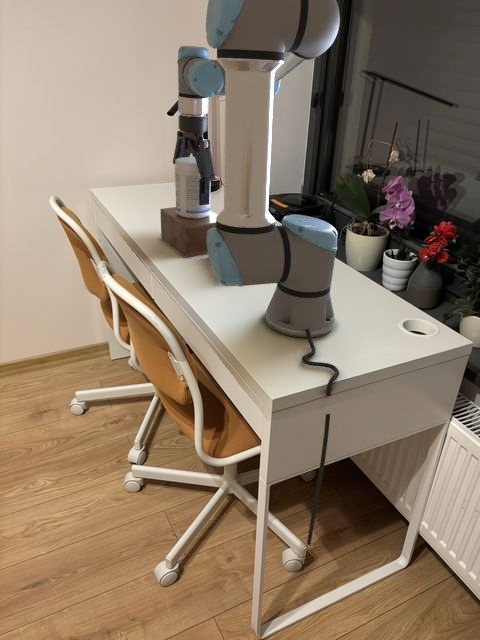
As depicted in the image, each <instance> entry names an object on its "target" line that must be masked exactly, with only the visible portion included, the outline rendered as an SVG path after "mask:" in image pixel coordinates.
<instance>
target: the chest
mask: <svg viewBox="0 0 480 640" xmlns="http://www.w3.org/2000/svg"><path fill="white" fill-rule="evenodd" d="M212 227H214V228H216V225H213V226H207V227H200V228H193V229H186V228H185V227H183V226H182V225H180V224H179V223H177V222H176V221H174V220H173V219H171V218H169V217H168V216H166V215H165V214H163V213H162V212H161V211H160V239H161V241H163V242H164V243H165V244H167V245H168V246H169V247H171V248H172V249H173V250H174V251H176V252H177V253H179V254H180V255H181V256H183V257H184V258H193V257H198V256H203V255H208V250H207V231H208V230H209V229H211V228H212Z"/></svg>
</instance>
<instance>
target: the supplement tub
mask: <svg viewBox="0 0 480 640" xmlns="http://www.w3.org/2000/svg"><path fill="white" fill-rule="evenodd" d="M199 179H201V177H200V173H199V170H198V166H197V163H196V160H195V157H193V156H190V157H182V158H178V159H176V160H175V164H174V181H175V183H174V184H175V207H176V212H177V214H178V215H180V216H182V217H185V218H193V219H198V218H204V217H206V216H208V215H209V214H210V211H211V195H210V196H209V205H201V206H200V205H199Z"/></svg>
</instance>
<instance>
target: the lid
mask: <svg viewBox="0 0 480 640" xmlns="http://www.w3.org/2000/svg"><path fill="white" fill-rule="evenodd" d="M161 212H162V213H163V214H165V215H166V216H168V217H169V218H171V219H173V220H174V221H176V222H177V223H179V224H180V225H182V226H183V227H185V228H186V229H193V228H200V227H207V226H213V225H216V217H217V216H218V215H219V214H218V213H215V212H214V211H212V210H210V214H209V215H208V216H206V217H204V218H198V219H193V218H185V217H182V216H180V215H178V214H177V212H176V206H174V207H165V208H164V207H163V208H160V213H161Z"/></svg>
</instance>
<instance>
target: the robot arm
mask: <svg viewBox="0 0 480 640" xmlns="http://www.w3.org/2000/svg"><path fill="white" fill-rule="evenodd" d="M340 15H341V14H340V8H339V4H338V1H337V0H208V2H207V7H206V17H205V33H206V35H205V36H206V37H205V38H206V42H207V45H208V46H209V47H210V48H212V49H214V50H215V49H216V59H210V54H209V53H210V52H209V49H208V48H207V47H204V46H195V45H182V46H180V47H179V48H178V49H177V51H178V52H177V61H176V63H177V75H178V76H177V79H178V80H177V81H178V82H177V83H178V87H177V88H178V90H177V91H178V95H177V105H178V107H177V111H178V113H179V115H178V130H177V131H176V142H175V148H174V154H173V158H172V164H173V165H175V160H176V159H178V158H182V157H191V155H192V157H195V160H196V163H197V166H198V170H199V173H200V177H201V179H199V205H200V206H201V205H209V196H210V197H211V181H213V180H214V181H215V179H216V174H215V168H214V163H213V156H212V152H211V140H210V139H204V133H207V132H208V130H209V123H208V122H209V118H208V116H207V115H208V114H209V102H210V101H209V98H213V97H216V96H222V97H223V96H224V161H223V162H224V164H223V165H224V168H223V169H224V170H223V172H224V174H223V177H224V178H223V180H224V181H223V183H224V184H223V209H222V211H220V213H218V214H217V215H218V216H217V217H216V228H214V227H212V228H211V229H209V230H208V231H207V250H208V254H207V255H208V260H209V264H210V268H211V271H212V274H213V276H214V278H215V280H216V281H217V283H218V284H220V285H221V286H223V287H240V288H242V287H247V286H256V285H257V286H258V285H271V284H276V287H275V290H274V292H273V294H272V297H271V299H270V301H269V304H268V305H267V308H266V311H265V322H266V324H267V326H269V328H271V329H272V330H274V331H276V332H277V333H279V334H282V335H285V336H289V337H293V338H302V339H307V341H308V344H309V347H310V349H311V351H310V352H308V353H306V354H304V355H303V356H302V358H301V361H302V362H303V363H304V364H306V365H308V366H311V367H319V368H320V367H321V368H328V369H331V370H332V371H333V372H334V374H333V375H332V376H331V377H330V378H329V380H328V381H327V385H326V391H325V395H326V396H327V397H330V396H331V394H332V386H333V384H334V382H335V381H336V380H337V378H338V377H339V375H340V370H339V368H338V367H336V366H335V365H334V364H332V363H328V362H319V361H311V360H309V358H311V357H314V356H315V354H316V351H317V350H316V349H317V348H316V345H315V343H314V341H313V338H318V337H321V336H325V335H326V334H329V333H330V332H331V331H332V330H333V328H334V325H335V313H334V307H333V301H332V298H331V297H332V296H331V288H332V287H331V286H332V281H333V273H334V269H335V261H336V254H337V251H338V231H337V229H336V228H335V227H334V226H333V225H332V224H330V223H329V222H327V221H325V220H322V219H320V218H318V217H317V218H316V217H313V216H308V215H303V214H288V215H285V216H284V217H282V220H281V222H280V223H281V225H276V218H275V217H274V216H273V215H272V213H270V211H269V198H270V196H269V195H270V174H271V155H272V136H273V135H272V133H273V114H274V113H273V112H274V110H273V109H274V97H275V96H277V94H278V92H279V90H280V87H281V81H282V79H283V78H284V77H286V76H287V75H288V74H289V73H291V72H292V71H293V70H295V68H297V67H299V65H301V64H302V63H303V62H305V61H311V60H314V59H316V58H318V57H320V56H321V55H322V54H324V53H325V52H326V51H327V50H328V49H329V48H330V47H331V46H332V45H333V43H334V41H335V40H336V38H337V35H338V33H339V28H340V21H341V17H340ZM330 421H331V413H325V421H324V431H323V440H322V447H321V456H320V461H319V462H320V463H319V468H318V474H317V475H318V476H317V481H316V488H315V492H314V493H315V494H314V499H313V505H312V509H311V510H312V511H311V515H310V522H309V528H308V533H307V534H308V535H307V540H306V544H307V545H308V546H311V545H312V539H313V532H314V526H315V521H316V516H317V511H318V505H319V498H320V494H321V493H320V492H321V487H322V481H323V476H324V470H325V463H326V455H327V449H328V441H329V433H330V431H329V430H330V424H331V423H330Z"/></svg>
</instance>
